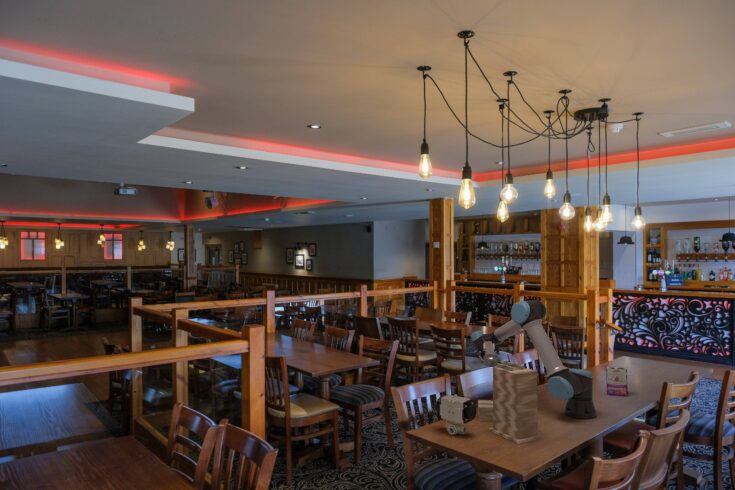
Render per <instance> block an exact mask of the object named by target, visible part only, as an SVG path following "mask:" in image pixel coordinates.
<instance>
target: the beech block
mask: <svg viewBox="0 0 735 490" xmlns="http://www.w3.org/2000/svg"><path fill="white" fill-rule="evenodd" d="M477 414H478V415H477V416H478V421H480V422H492V423H493V399H491V400H489V399H478V400H477Z"/></svg>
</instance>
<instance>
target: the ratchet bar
mask: <svg viewBox="0 0 735 490" xmlns="http://www.w3.org/2000/svg"><path fill="white" fill-rule="evenodd" d="M484 343H485V355H484V364H483V365H484V366H485V367H492V368H493V367H496V364H497V363H499V355H497V354H496V353H495V354H494V350H493V345H492V342H491V341H484Z"/></svg>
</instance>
